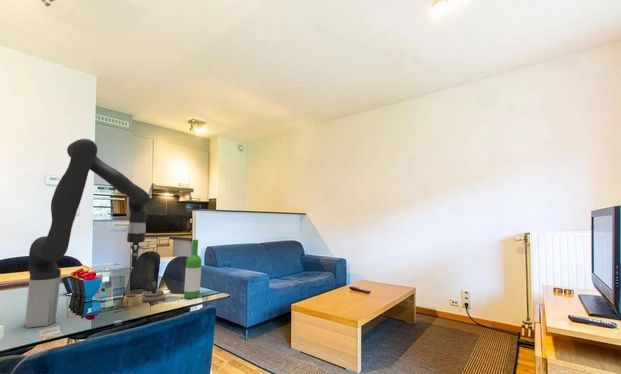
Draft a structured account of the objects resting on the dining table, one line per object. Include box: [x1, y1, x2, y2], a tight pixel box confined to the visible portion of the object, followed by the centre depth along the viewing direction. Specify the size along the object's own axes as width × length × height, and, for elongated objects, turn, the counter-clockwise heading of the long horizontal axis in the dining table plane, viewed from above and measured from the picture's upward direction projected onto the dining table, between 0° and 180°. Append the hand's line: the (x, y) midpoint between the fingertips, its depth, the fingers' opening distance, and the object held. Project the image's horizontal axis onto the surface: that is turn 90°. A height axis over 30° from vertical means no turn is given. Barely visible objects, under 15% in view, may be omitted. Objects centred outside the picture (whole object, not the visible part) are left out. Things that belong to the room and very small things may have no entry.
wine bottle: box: [183, 239, 202, 299], centre depth 164 cm, size 8×8×30 cm
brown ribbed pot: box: [122, 294, 139, 308], centre depth 146 cm, size 6×6×4 cm
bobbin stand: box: [141, 281, 166, 304], centre depth 159 cm, size 16×10×8 cm, turn 29°
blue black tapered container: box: [61, 275, 106, 295], centre depth 165 cm, size 16×13×9 cm
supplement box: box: [93, 272, 104, 299], centre depth 152 cm, size 7×7×13 cm
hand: (133, 266), depth 148 cm, fingers open, 8 cm apart
